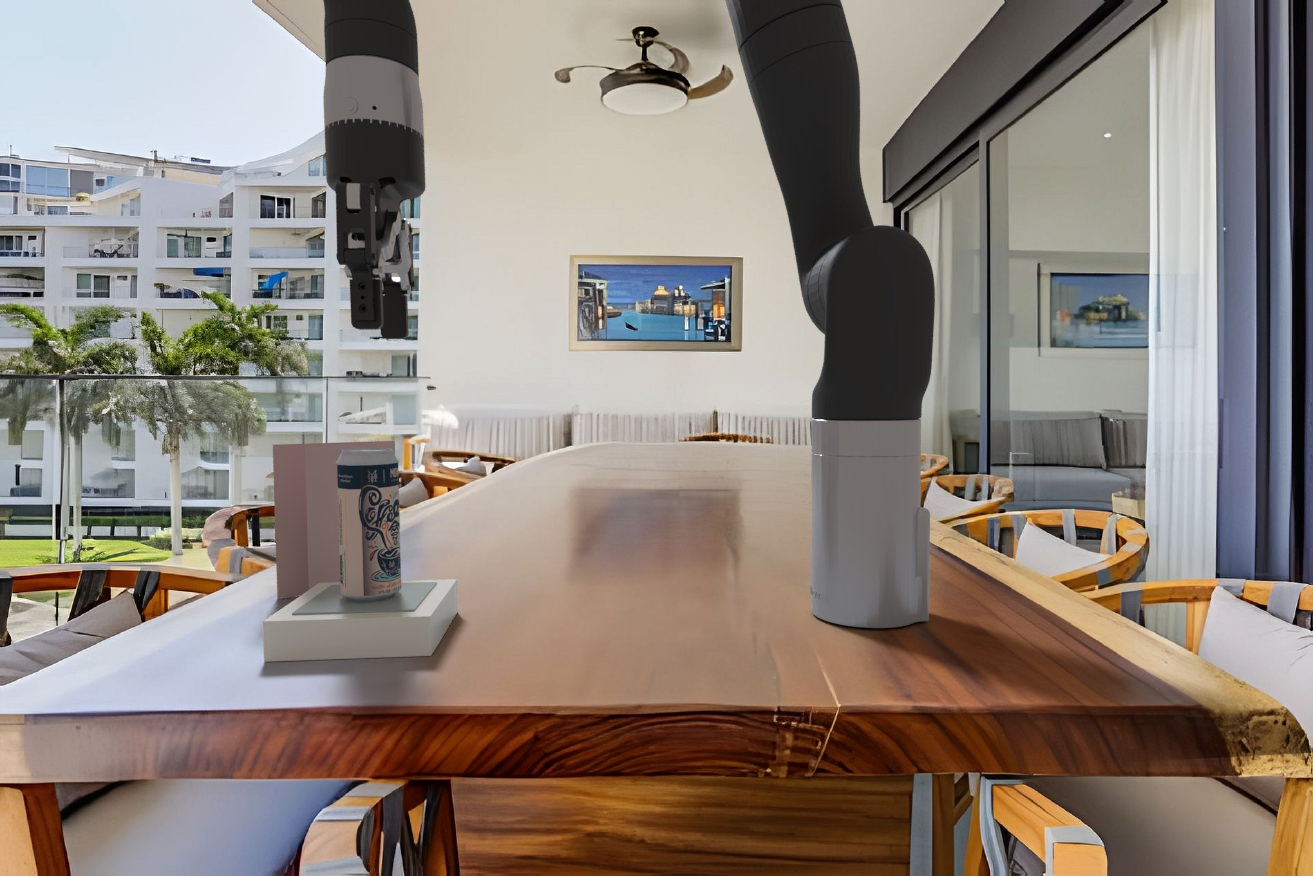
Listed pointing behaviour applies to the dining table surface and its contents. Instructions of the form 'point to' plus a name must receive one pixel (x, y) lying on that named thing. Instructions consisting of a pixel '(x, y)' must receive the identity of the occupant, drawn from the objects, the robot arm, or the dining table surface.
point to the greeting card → (308, 513)
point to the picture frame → (361, 623)
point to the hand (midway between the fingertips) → (382, 334)
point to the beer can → (369, 524)
